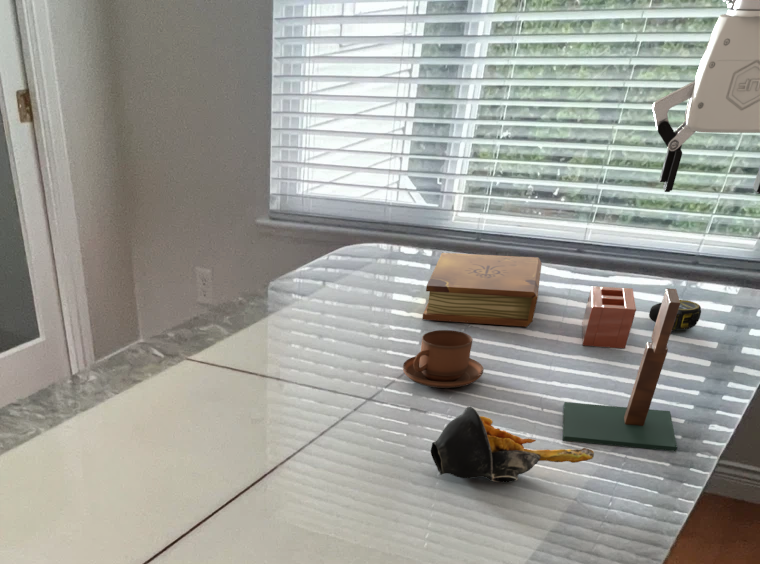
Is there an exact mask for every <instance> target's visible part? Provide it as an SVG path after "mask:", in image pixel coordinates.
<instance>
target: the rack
mask: <svg viewBox="0 0 760 564" xmlns="http://www.w3.org/2000/svg"><path fill="white" fill-rule="evenodd" d="M636 312H637V306H636V299H635V294H634V289H633V288H631V287H630V288H628V287H615V286H614V287H613V286H612V287H611V286H595V285H592V286H590V290H589V293H588V298H587V302H586V306H585V310H584V314H583V319H582V322H581V332H582V333H581V335H582V336H581V337H582V341H581V342H582V346H585V347H597V348H598V347H599V348H612V349H613V348H614V349H624V350H625V349H626V347H627V343H628V340H629V336H630V333H631V329H632V326H633V322H634V319H635V316H636Z"/></svg>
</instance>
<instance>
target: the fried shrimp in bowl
mask: <svg viewBox="0 0 760 564" xmlns="http://www.w3.org/2000/svg"><path fill="white" fill-rule="evenodd" d="M493 421H494V420H493V419H491V418H489V417H486V416H484V415H479V413H478V412H477V410H476V409H475V408H473V406H471V405H469V406H466V407H465V409H464V410H463V412H462V413H461V414H459V415H457V416H456V417H454V419H451V421H449V422H448V423H447V424H446V426H445V428H443V429H442V431H441V433H440V435H439V436H438V438H437V439H436V440H434V441H433V442H432V443H431V447H430V455H431V458H432V460H433V462H434V464H435V466H436V468H437V471H438V473H439V475H440V476H442V475H446V474H448V475H452V476H454V477H457V478H460V479H476V478H485V479H487V480H488V481H491V482H495V483H512V482H515V481H517V480H518V478H519V477H518V476H519V475H522V474H525V473H527V472H530V470H531V469H533V468H534V466H535V465H537V464H538V462H551V463H564V462H570V463H571V464H575V463H580V462H587V461H590V460H593V458H594V456H595V451H594V450H593V449H590V448H586V447H583V448H581V449H576V448H575V449H571V448H569V449H562V448H561V449H528V448H525V447H524V445H525V444H532V443H534V442H536V439H533V438H530V437H529V438H521V437H520V436H518V435H514V434H512V433H510V432H507V431H506V430H502V429H500V428H496V427H494V426H493V424H494V423H493Z"/></svg>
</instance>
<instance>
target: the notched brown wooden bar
mask: <svg viewBox="0 0 760 564" xmlns="http://www.w3.org/2000/svg"><path fill="white" fill-rule="evenodd" d="M680 300H681V299H680V298H679V294H678V290H677V288H670V287H669V288H668V287H667V288H665V291H664V294H663V297H662V300H661V303H662V304H661V307H660V310H659V313H658V317H657V320H656V323H655V322H654V323H655V324H654V326H653V330H652V334H651V336H650V338H651V342H650V341H647V342H646V344H645V348H644V350H643V354H642V357H641V360H640V364H639V367H638V370H637V374H636V376H635V379H634V383H633V386H632V390H631V393H630V396H629V400H628V403H627V406H626V407H627V409H626V413H625V416H624V420H625V424H629V425H640V426H644V423H645V420H646V417H647V414H648V411H649V409H650V407H651V404H652V401H653V398H654V395H655V392H656V389H657V386H658V384H659V383H658V382H659V380H660V377H661V373H662V370H663V368H664V364H665V361H666V357H667V354H668V351H669V348H668V343H669V341H670V337H671V334H672V332H673V331H672V328H673V325H674V322H675V318H676V315H677V312H678V309H679V306H680Z"/></svg>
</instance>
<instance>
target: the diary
mask: <svg viewBox="0 0 760 564" xmlns="http://www.w3.org/2000/svg"><path fill="white" fill-rule="evenodd" d="M542 264H543V263H542V261H541V259H540V258H539V257H536V256H535V257H533V256H517V255H495V254H494V255H493V254H474V253H456V252H455V253H454V252H441V253H440V256H439V258H438V260H437V262H436V264H435V266H434V269H433V271H432V273H431V275H430V278H429V280H428V282H427V284H426V288H425V292H429V295H428V300H427V301H428V302H427V304H426V306H425V309H424V311H423V313H422V320H423V321H439V322H450V323H451V322H452V323H465V324H466V323H467V324H480V325H481V324H483V325H495V326H496V325H498V326H509V327H510V326H511V327H528V326H529V325H530V324H531V323H533V321H534V315H535V313H536V307H537V303H538V299H539V298H538V297H539V288H540V280H541V272H542Z"/></svg>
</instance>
